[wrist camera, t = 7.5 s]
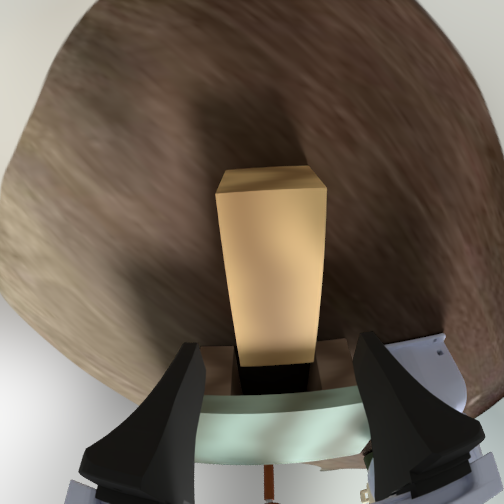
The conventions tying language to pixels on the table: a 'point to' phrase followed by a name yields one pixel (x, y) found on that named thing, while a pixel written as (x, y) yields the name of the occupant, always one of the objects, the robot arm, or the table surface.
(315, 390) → the socket shed
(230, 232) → the peg
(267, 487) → the magnifying glass
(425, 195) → the table surface
